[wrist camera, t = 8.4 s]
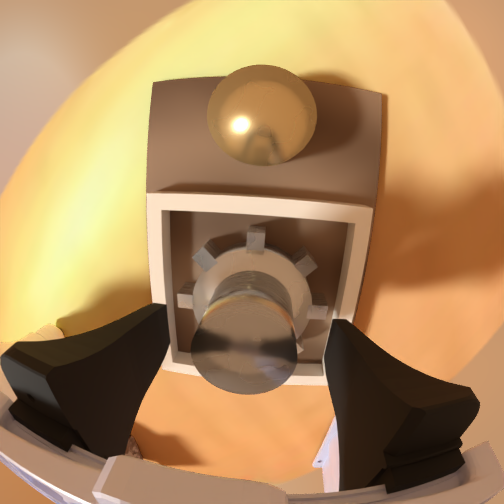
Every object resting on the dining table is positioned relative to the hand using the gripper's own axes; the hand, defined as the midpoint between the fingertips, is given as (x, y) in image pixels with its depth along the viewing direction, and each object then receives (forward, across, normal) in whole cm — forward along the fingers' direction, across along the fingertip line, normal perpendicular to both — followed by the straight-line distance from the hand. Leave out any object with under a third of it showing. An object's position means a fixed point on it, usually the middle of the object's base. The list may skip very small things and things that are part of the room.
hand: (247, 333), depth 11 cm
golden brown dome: (+4, 0, -9) cm, 10 cm away
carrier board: (+4, 0, -3) cm, 5 cm away
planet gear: (+4, 0, 0) cm, 4 cm away
